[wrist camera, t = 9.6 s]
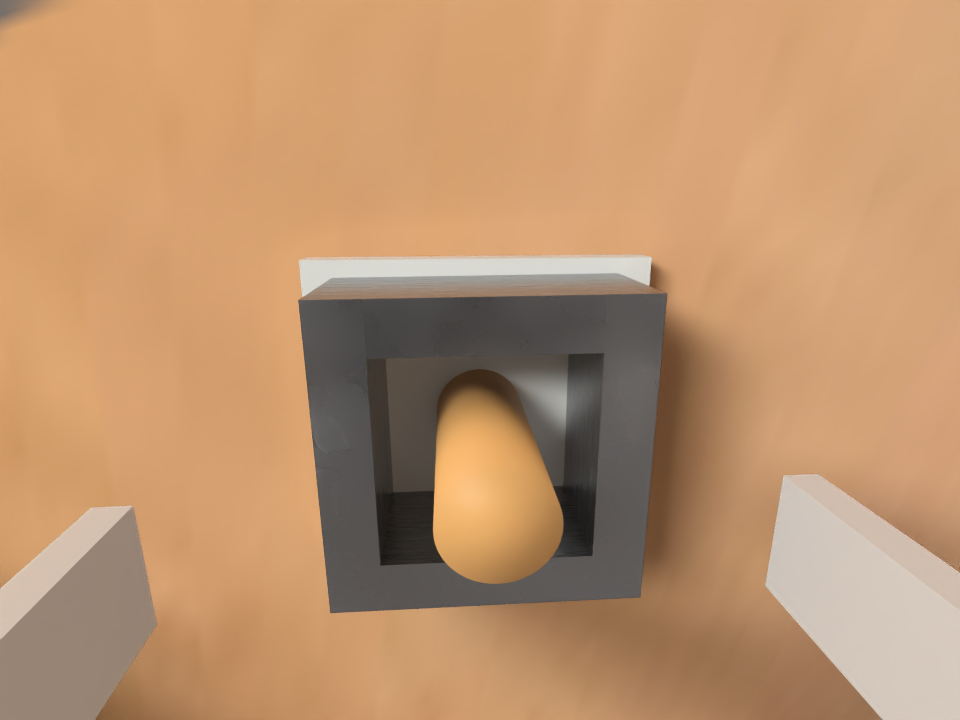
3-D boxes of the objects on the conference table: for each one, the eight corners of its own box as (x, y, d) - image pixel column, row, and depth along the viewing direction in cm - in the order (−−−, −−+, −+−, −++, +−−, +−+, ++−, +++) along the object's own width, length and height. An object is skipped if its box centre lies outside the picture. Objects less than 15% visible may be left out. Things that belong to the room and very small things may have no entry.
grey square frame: (353, 531, 19) (330, 613, 15) (331, 277, 17) (298, 300, 13) (602, 520, 20) (640, 596, 16) (618, 273, 17) (667, 293, 13)
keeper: (331, 527, 20) (262, 724, 13) (306, 257, 18) (199, 299, 10) (620, 516, 21) (720, 698, 13) (640, 254, 18) (783, 292, 11)
